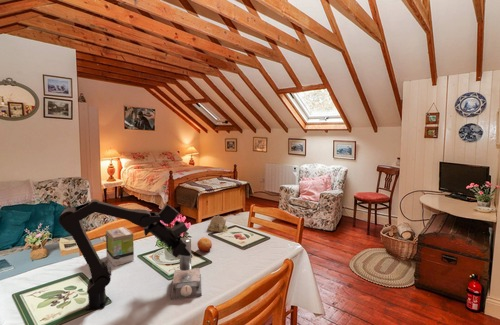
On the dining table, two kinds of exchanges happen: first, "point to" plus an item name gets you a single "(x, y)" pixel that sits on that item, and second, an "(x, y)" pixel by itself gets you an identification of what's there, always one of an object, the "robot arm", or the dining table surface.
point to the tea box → (119, 246)
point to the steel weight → (186, 260)
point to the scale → (186, 290)
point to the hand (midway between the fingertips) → (188, 252)
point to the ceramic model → (218, 224)
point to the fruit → (204, 244)
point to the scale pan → (186, 276)
